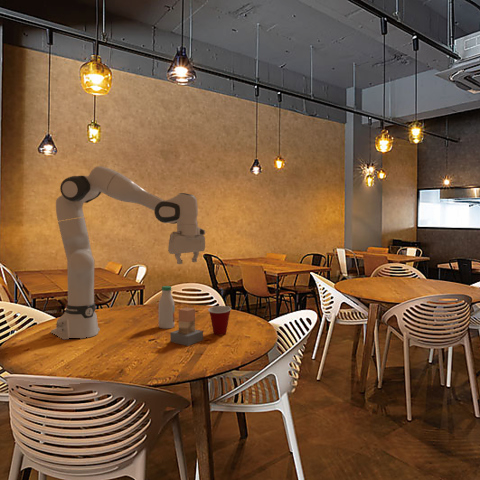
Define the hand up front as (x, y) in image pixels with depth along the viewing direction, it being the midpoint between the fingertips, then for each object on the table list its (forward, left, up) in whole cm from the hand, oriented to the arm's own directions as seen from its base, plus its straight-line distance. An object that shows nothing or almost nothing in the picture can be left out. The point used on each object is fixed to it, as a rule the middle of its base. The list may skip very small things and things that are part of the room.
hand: (187, 263), depth 170 cm
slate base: (0, 0, -34) cm, 34 cm away
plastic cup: (+5, +17, -34) cm, 39 cm away
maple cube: (0, 0, -30) cm, 30 cm away
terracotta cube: (0, 0, -25) cm, 25 cm away
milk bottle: (-23, +11, -34) cm, 43 cm away
